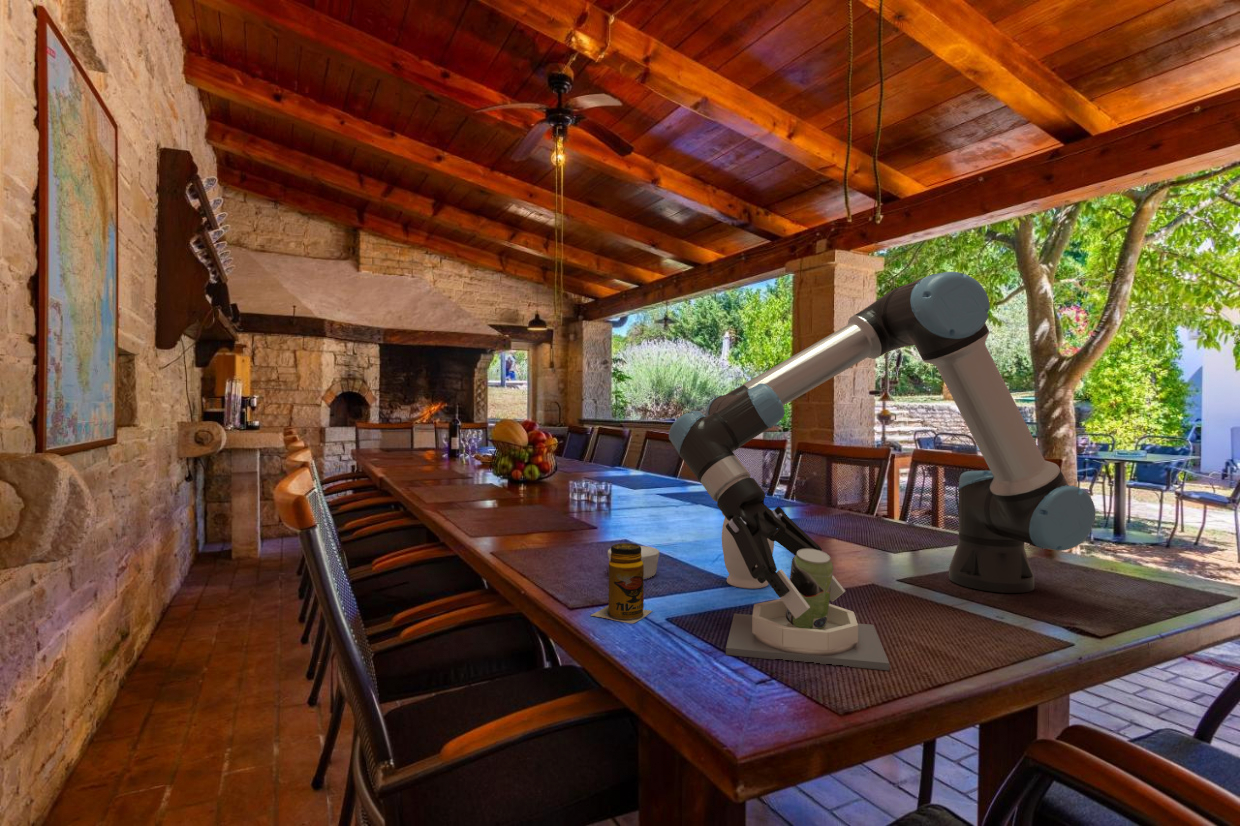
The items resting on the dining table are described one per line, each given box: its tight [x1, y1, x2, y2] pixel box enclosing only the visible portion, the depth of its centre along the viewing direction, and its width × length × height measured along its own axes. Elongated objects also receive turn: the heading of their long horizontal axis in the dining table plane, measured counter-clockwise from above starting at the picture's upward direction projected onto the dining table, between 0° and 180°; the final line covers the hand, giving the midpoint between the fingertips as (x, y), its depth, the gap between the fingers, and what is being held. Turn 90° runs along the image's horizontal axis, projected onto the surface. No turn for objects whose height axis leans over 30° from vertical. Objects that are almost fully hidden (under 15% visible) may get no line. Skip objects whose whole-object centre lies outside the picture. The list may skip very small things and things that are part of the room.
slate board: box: [725, 612, 890, 672], centre depth 98 cm, size 22×16×1 cm
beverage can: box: [786, 549, 834, 630], centre depth 98 cm, size 6×7×12 cm
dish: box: [751, 598, 859, 655], centre depth 98 cm, size 15×15×3 cm
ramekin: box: [607, 545, 660, 580], centre depth 137 cm, size 11×11×5 cm
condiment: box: [590, 542, 653, 624], centre depth 111 cm, size 7×8×12 cm
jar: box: [721, 509, 775, 590], centre depth 130 cm, size 11×10×15 cm
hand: (821, 604), depth 95 cm, fingers open, 10 cm apart
